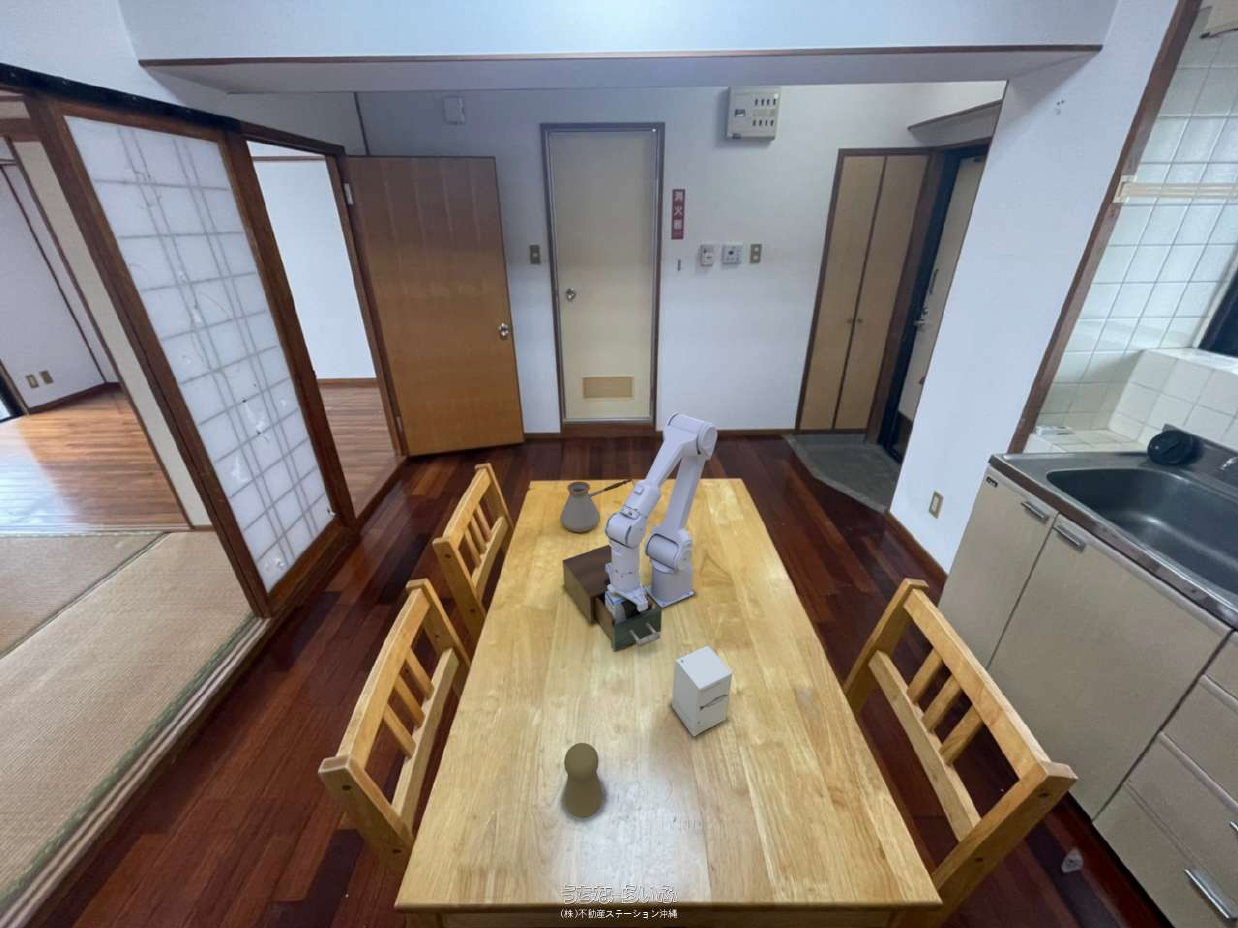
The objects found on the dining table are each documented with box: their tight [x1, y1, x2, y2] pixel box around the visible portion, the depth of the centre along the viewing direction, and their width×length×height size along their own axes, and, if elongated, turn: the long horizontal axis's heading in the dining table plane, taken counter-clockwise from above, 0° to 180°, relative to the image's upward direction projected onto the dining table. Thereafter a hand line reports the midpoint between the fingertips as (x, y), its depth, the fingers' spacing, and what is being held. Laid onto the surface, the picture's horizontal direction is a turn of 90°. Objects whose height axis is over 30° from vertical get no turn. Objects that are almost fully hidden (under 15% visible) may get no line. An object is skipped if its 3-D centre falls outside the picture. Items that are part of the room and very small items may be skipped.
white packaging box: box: [671, 644, 733, 737], centre depth 92 cm, size 7×7×13 cm
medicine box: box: [605, 586, 648, 624], centre depth 111 cm, size 8×4×9 cm, turn 119°
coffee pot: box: [559, 478, 635, 534], centre depth 147 cm, size 21×12×15 cm, turn 92°
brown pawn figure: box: [563, 742, 604, 819], centre depth 80 cm, size 6×6×11 cm
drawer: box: [593, 594, 663, 652], centre depth 112 cm, size 18×11×6 cm, turn 29°
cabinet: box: [562, 544, 641, 625], centre depth 122 cm, size 15×13×8 cm
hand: (625, 614), depth 113 cm, fingers open, 5 cm apart
